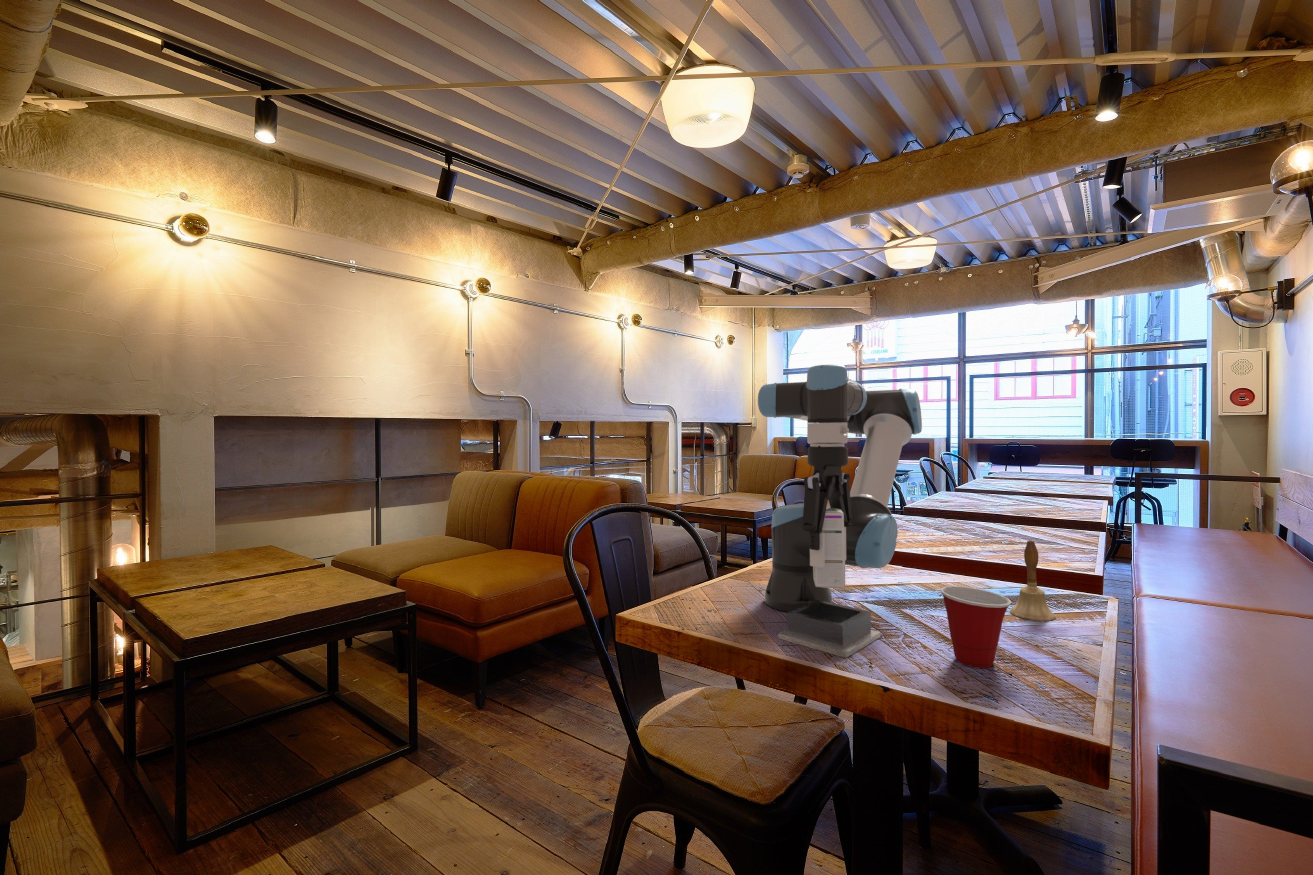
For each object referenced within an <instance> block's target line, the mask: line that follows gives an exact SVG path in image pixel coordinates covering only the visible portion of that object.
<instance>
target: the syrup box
mask: <svg viewBox="0 0 1313 875" xmlns="http://www.w3.org/2000/svg"><path fill="white" fill-rule="evenodd" d="M822 533H825V567H824V568H820V567H814V566H813V579H814V583H815V586H816V587H824V588H829V589H831V588H832V589H845V588H846V565H845V541H844V513H843V512H842V511H841V509H837V508H830V507H826V512H825V517H824V523H823V528H822Z"/></svg>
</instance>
